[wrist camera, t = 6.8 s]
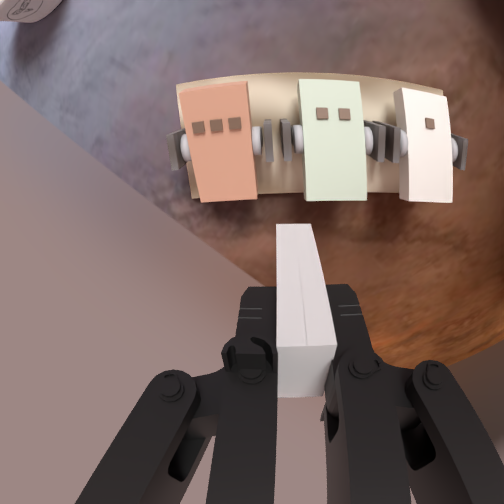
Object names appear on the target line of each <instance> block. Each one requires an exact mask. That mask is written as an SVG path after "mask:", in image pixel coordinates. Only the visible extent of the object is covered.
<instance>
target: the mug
mask: <svg viewBox="0 0 504 504" xmlns="http://www.w3.org/2000/svg"><path fill="white" fill-rule="evenodd" d="M61 1H62V0H0V21H14V22H24V23H33V22H37V21H39V20H41V19H43V18H44V17H46V16H47V15H48V14H49V13H51V12H52V11H53V10H54V9H55V8H56V7H57V6H58V5H59V4H60V2H61Z"/></svg>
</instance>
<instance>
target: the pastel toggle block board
mask: <svg viewBox="0 0 504 504" xmlns="http://www.w3.org/2000/svg"><path fill="white" fill-rule="evenodd" d="M299 79H325V80H343V81H356V82H359V85H360V93H361V101H362V110H363V121H364V127H369V128H370V129H371V131H372V135H373V149H372V152H371V154H369V155H367V154H366V172H367V192H389V193H399V157H400V139H401V128H399V127H397V123H396V113H395V104H394V96H393V92H395V91H397V90H398V89H400V88H408V89H413V90H418V91H423V92H428V93H432V94H436V95H441V96H443V90H439V89H435V88H431V87H427V86H422V85H418V84H413V83H408V82H402V81H396V80H390V79H383V78H376V77H368V76H359V75H348V74H333V73H265V74H250V75H238V76H229V77H221V78H213V79H206V80H200V81H194V82H188V83H183V84H177V85H176V89H177V98H178V106H179V114H180V122H181V129H180V130H178V131H175V132H173V133H170V134H168V135H166V137H167V144H168V150H169V156H170V162H171V168H172V170H179V169H180V168H181V167H182V166H183V165H185V164H187V171H188V177H189V183H190V189H191V195H192V199H193V198H200V196H199V191H198V187H197V183H196V178H195V173H194V169H193V164H192V161H188V162H186V161H184V159H183V157H182V153H181V137H182V135H183V134H186V130H185V125H184V120H183V115H182V110H181V104H180V99H179V93H180V92H181V91H183V90H184V89H188V88H193V87H200V86H206V85H213V84H221V83H229V82H239V81H248V91H249V100H250V110H251V121H252V127H257V126H260V131H261V144H262V155H255V162H256V173H257V184H258V194H272V193H301V192H304V186H303V164H302V154H295V152H294V144H293V125H300V117H299V105H298V94H297V83H298V80H299ZM451 138H453V139H454V140H455V141H456V143H457V146H458V155H457V158H456V160H455V161H454V162H452V164H453V166H455V167H457V168H458V169H460V170H465V165H466V157H467V147H468V139H466V138H463V137H460V136H457V135H454V134H452V133H451Z"/></svg>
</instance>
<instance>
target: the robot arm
mask: <svg viewBox="0 0 504 504" xmlns="http://www.w3.org/2000/svg"><path fill="white" fill-rule="evenodd" d="M276 242H277V287H248V288H247V290H246V291H245V292H244V294H243V295H242V297H241V302H240V310H239V316H238V322H237V329H236V336H235V337H234V338H231V339H230V340H229V341H228V342H227V343H226V344H225V345H224V347H223V350H222V352H221V355H222V359H223V362H224V367H223V368H222V369H220V370H218V371H217V372H214V373H211V374H207V375H202V376H197V377H191V376H190V375H189V374H187V373H185V372H183V371H179V370H168V371H164V372H162V373H160V374H158V375H156V376H155V377H154V378H153V380H152V381H151V382H150V383H149V385H148V386H147V388H146V389H145V391H144V392H143V394H142V396H141V397H140V399H139V400H138V402H137V404H136V405H135V407H134V408H133V410H132V411H131V413H130V415H129V416H128V418H127V419H126V421H125V423H124V424H123V426H122V427H121V429H120V431H119V432H118V434H117V435H116V437H115V439H114V440H113V442H112V443H111V445H110V447H109V448H108V450H107V452H106V453H105V455H104V456H103V458H102V460H101V461H100V463H99V464H98V466H97V468H96V470H95V471H94V473H93V474H92V476H91V478H90V479H89V481H88V483H87V484H86V486H85V488H84V489H83V491H82V493H81V495H80V496H79V498H78V499H77V501H76V503H75V504H180V502H181V500H182V498H183V496H184V494H185V492H186V490H187V488H188V486H189V484H190V482H191V480H192V477H193V476H194V474H195V471H196V469H197V467H198V465H199V463H200V461H201V459H202V457H203V455H204V452H205V450H206V448H207V446H208V444H209V442H210V440H211V437H212V436H216V438H215V444H214V451H213V458H212V464H211V471H210V478H209V485H208V492H207V498H206V504H274V487H275V464H276V437H277V436H276V435H277V398H284V397H285V398H287V397H316V396H323V393H324V390H325V398H326V403H325V406H324V409H323V411H322V414H321V419H320V421H324V426H325V441H326V442H325V443H326V464H327V504H411V496H410V488H411V490H412V493H413V495H414V498H415V500H416V503H417V504H504V465H503V463H502V461H501V459H500V457H499V455H498V453H497V451H496V449H495V447H494V445H493V443H492V441H491V439H490V437H489V435H488V433H487V431H486V430H485V428H484V426H483V424H482V422H481V421H480V419H479V417H478V416H477V414H476V412H475V410H474V409H473V407H472V405H471V403H470V402H469V400H468V399H467V397H466V395H465V394H464V392H463V390H462V389H461V388H460V386H459V384H458V383H457V381H456V380H455V378H454V376H453V375H452V373H451V372H450V370H449V369H448V368H447V367H446V366H445V365H444V364H442V363H440V362H438V361H433V360H427V361H423V362H421V363H420V364H418V365H417V366H416V367H415V369H407V368H400V367H395V366H391V365H388V364H386V363H385V362H383V360H382V358H380V357H379V356H378V355H377V354H376V353H374V350H373V348H372V345H371V341H370V338H369V334H368V331H367V327H366V324H365V321H364V317H363V315H362V311H361V308H360V306H359V302H358V298H357V295H356V293H355V292H354V291H353V290H352V289H351V288H350V286H349V285H348V284H334V285H325V281H324V277H323V272H322V268H321V264H320V259H319V255H318V251H317V247H316V243H315V239H314V235H313V231H312V227H311V224H276ZM409 486H410V487H409Z"/></svg>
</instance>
